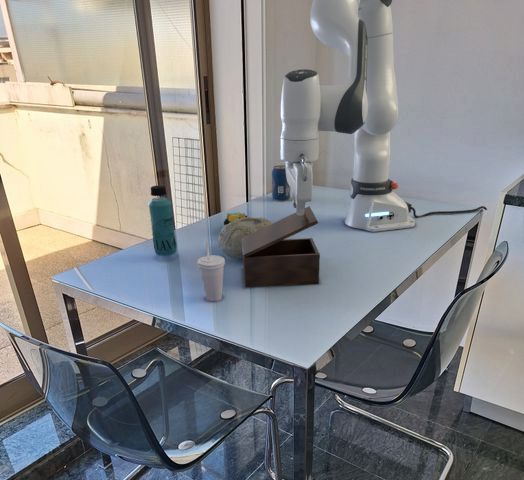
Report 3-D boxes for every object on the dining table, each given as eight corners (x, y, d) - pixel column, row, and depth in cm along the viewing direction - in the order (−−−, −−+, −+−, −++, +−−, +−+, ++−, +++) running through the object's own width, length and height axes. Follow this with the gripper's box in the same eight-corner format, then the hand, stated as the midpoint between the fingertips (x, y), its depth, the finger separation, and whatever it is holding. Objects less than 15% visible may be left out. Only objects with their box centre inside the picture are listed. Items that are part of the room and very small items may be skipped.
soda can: (273, 196, 198) (272, 164, 191) (290, 196, 197) (290, 164, 191) (271, 201, 192) (271, 168, 186) (289, 201, 191) (289, 168, 185)
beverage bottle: (151, 259, 143) (140, 188, 133) (162, 251, 149) (153, 182, 138) (171, 262, 141) (161, 190, 131) (182, 254, 147) (174, 184, 136)
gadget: (249, 227, 170) (248, 210, 168) (244, 233, 158) (243, 215, 156) (230, 226, 171) (230, 210, 169) (223, 233, 159) (223, 215, 156)
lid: (310, 208, 129) (303, 190, 126) (318, 223, 118) (310, 204, 116) (242, 241, 132) (234, 224, 129) (244, 257, 122) (235, 240, 119)
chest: (311, 265, 137) (312, 237, 133) (318, 283, 127) (319, 254, 122) (243, 269, 136) (242, 241, 132) (245, 287, 126) (243, 258, 122)
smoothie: (201, 293, 124) (195, 238, 116) (227, 291, 124) (223, 236, 117) (200, 304, 118) (194, 247, 111) (227, 302, 119) (223, 246, 111)
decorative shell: (271, 269, 135) (270, 233, 130) (209, 264, 140) (206, 228, 134) (287, 247, 149) (287, 213, 144) (231, 242, 154) (229, 210, 149)
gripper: (320, 159, 107) (318, 223, 114) (306, 143, 124) (305, 199, 131) (291, 160, 106) (290, 224, 114) (281, 143, 124) (281, 200, 131)
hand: (298, 210), depth 123 cm, fingers closed on lid, 5 cm apart
